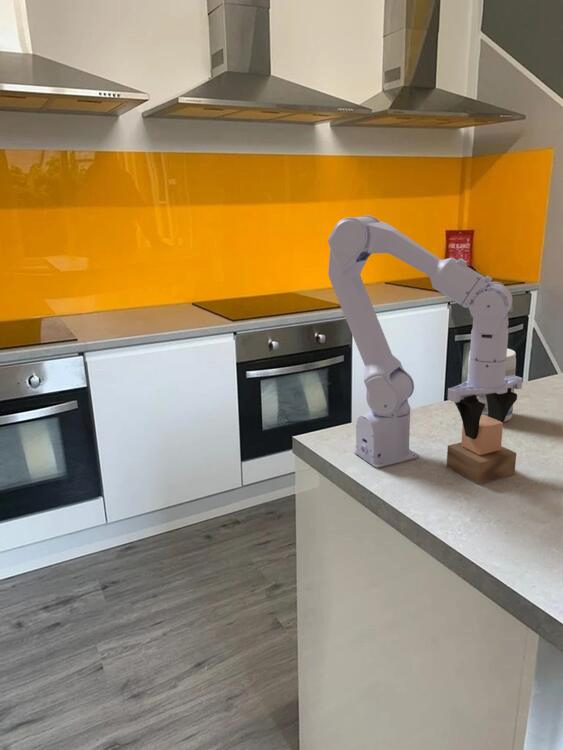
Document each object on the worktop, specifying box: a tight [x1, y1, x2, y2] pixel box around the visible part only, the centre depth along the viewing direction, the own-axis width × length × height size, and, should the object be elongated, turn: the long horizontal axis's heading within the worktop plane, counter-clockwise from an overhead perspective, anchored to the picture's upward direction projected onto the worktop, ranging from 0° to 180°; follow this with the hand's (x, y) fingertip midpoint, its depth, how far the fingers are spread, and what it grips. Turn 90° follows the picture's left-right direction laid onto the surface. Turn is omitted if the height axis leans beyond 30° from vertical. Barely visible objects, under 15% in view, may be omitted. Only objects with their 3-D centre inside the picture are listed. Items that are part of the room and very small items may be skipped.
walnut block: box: [446, 441, 517, 485], centre depth 102 cm, size 8×8×4 cm
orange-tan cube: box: [461, 414, 504, 455], centre depth 100 cm, size 5×5×5 cm
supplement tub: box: [466, 348, 517, 423], centre depth 125 cm, size 10×10×15 cm
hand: (482, 434), depth 100 cm, fingers closed on orange-tan cube, 5 cm apart
